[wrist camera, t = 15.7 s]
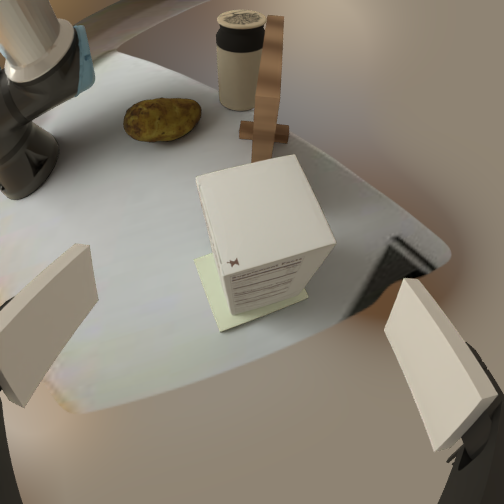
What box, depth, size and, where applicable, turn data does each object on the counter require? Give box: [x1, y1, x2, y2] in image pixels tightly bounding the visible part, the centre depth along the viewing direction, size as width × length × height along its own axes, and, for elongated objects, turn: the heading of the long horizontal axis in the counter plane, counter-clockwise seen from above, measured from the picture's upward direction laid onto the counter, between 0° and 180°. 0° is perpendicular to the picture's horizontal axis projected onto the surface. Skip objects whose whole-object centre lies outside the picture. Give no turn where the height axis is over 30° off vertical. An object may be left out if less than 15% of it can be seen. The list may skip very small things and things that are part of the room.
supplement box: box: [196, 154, 337, 315], centre depth 31 cm, size 10×9×17 cm
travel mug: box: [216, 10, 267, 111], centre depth 43 cm, size 8×8×18 cm
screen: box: [239, 15, 289, 163], centre depth 35 cm, size 18×8×22 cm, turn 175°
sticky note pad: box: [194, 253, 308, 332], centre depth 39 cm, size 10×12×1 cm
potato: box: [123, 98, 201, 142], centre depth 44 cm, size 8×13×8 cm, turn 102°
